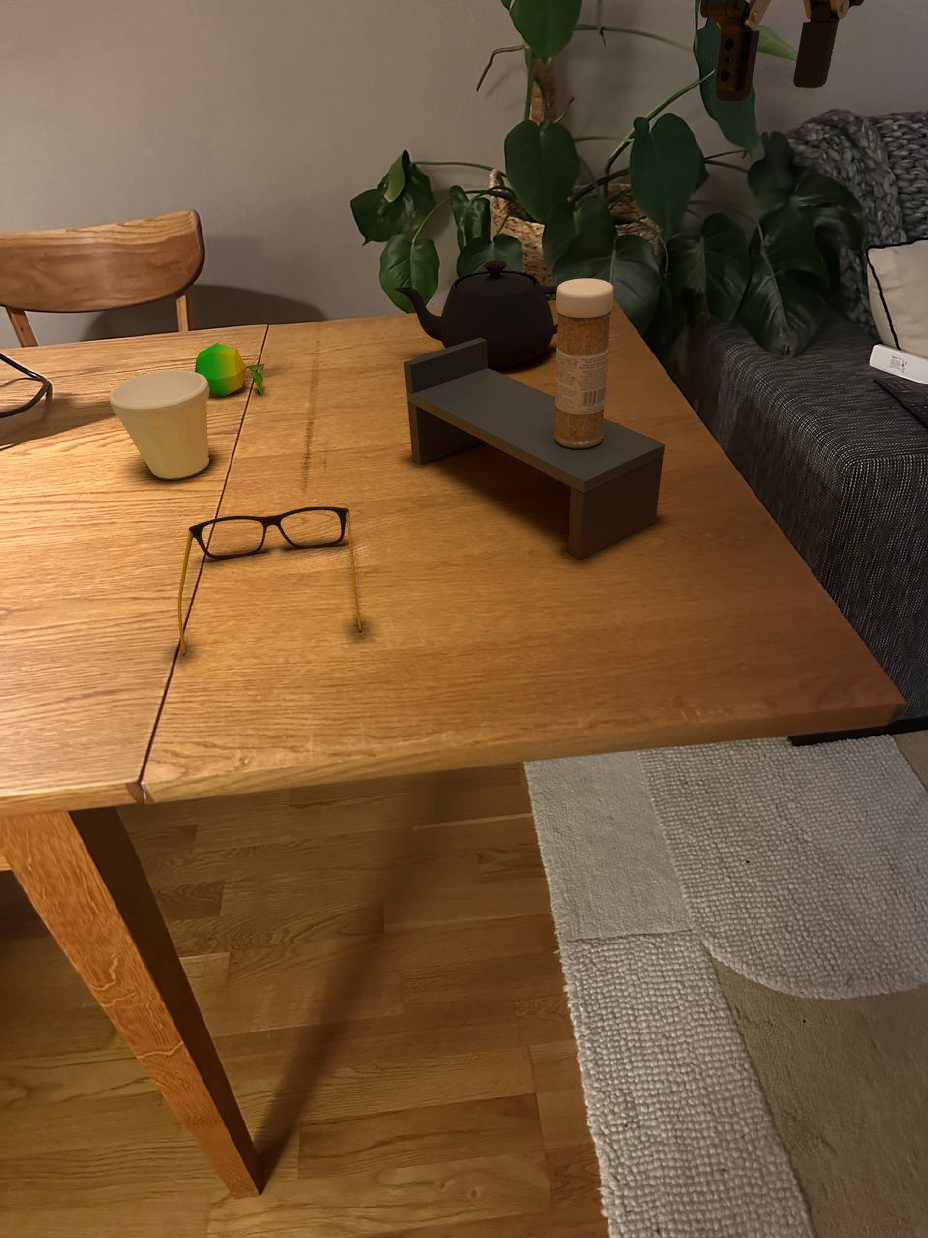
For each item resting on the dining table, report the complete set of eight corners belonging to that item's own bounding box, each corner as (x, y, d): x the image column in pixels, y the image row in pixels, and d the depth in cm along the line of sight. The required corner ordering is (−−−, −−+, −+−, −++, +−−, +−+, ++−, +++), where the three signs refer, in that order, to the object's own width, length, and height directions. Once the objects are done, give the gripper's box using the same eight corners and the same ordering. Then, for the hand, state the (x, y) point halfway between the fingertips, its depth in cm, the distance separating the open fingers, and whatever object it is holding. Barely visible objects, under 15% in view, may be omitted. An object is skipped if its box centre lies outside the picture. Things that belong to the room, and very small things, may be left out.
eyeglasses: (353, 537, 76) (347, 501, 74) (362, 632, 65) (356, 592, 63) (199, 556, 75) (189, 519, 73) (182, 656, 64) (168, 616, 61)
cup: (242, 469, 88) (223, 388, 83) (153, 500, 84) (126, 416, 78) (205, 439, 95) (185, 361, 89) (121, 466, 90) (94, 386, 84)
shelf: (656, 521, 77) (669, 411, 70) (580, 560, 72) (586, 448, 65) (483, 432, 93) (480, 337, 86) (412, 460, 88) (403, 361, 82)
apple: (184, 337, 101) (256, 330, 101) (199, 356, 107) (267, 350, 108) (189, 393, 101) (262, 386, 101) (204, 408, 107) (272, 402, 107)
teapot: (572, 331, 118) (575, 241, 110) (590, 371, 106) (595, 273, 98) (401, 341, 118) (393, 251, 110) (399, 382, 106) (390, 285, 98)
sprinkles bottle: (593, 425, 75) (602, 273, 67) (610, 446, 72) (622, 289, 63) (546, 432, 74) (549, 279, 66) (561, 454, 71) (566, 296, 63)
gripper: (813, -284, 39) (753, 109, 49) (960, -257, 46) (881, 85, 56) (690, -250, 44) (658, 102, 54) (839, -230, 51) (786, 80, 61)
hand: (771, 93), depth 55 cm, fingers open, 8 cm apart
